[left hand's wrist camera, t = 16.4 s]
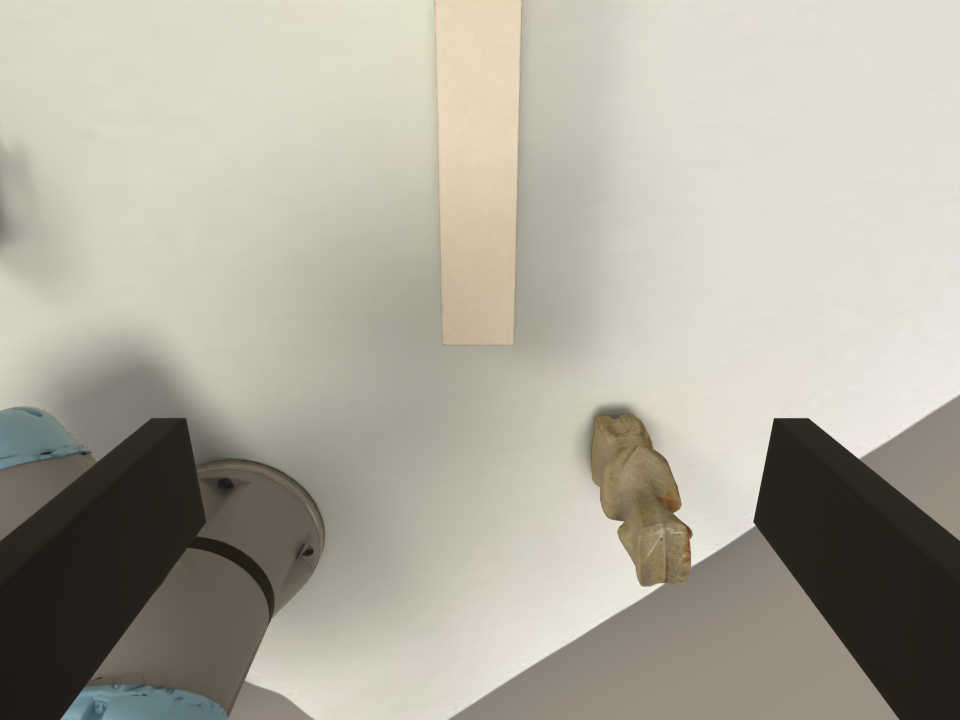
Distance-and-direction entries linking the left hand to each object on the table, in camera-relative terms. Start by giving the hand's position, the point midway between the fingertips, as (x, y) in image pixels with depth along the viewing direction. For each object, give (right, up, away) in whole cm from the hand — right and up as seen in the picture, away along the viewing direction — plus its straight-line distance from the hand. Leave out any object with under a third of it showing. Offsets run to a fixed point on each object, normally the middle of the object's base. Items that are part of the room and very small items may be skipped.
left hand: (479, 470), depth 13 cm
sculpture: (+12, -5, +38) cm, 40 cm away
